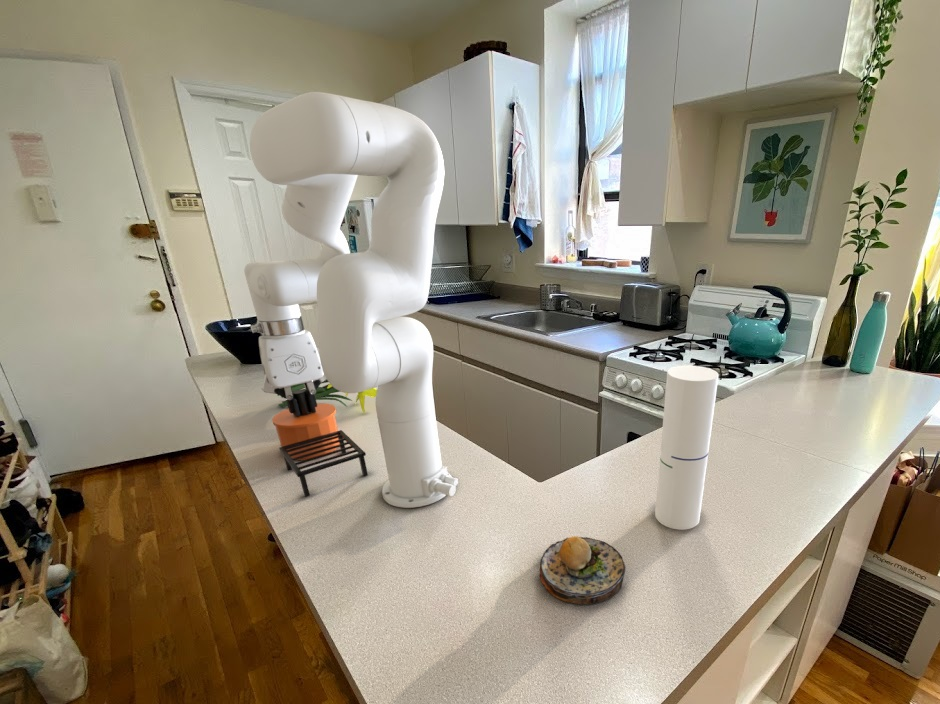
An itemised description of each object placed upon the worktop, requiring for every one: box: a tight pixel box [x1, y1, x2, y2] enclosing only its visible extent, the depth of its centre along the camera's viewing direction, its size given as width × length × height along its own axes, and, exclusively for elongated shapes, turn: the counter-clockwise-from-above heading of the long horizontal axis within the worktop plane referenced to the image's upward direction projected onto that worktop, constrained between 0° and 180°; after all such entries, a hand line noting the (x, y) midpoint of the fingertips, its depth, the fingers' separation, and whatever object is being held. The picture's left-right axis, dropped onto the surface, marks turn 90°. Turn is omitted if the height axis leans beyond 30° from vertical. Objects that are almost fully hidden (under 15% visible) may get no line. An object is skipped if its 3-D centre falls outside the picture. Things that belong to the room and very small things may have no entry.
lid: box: [271, 389, 337, 428], centre depth 98 cm, size 12×12×6 cm
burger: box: [538, 536, 626, 605], centre depth 63 cm, size 12×12×8 cm
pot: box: [275, 414, 339, 461], centre depth 100 cm, size 11×11×8 cm
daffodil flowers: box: [276, 379, 378, 414], centre depth 120 cm, size 17×15×35 cm
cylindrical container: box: [654, 364, 719, 531], centre depth 72 cm, size 7×7×25 cm
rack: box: [278, 429, 369, 498], centre depth 91 cm, size 14×12×5 cm
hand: (304, 412), depth 98 cm, fingers closed on lid, 2 cm apart
